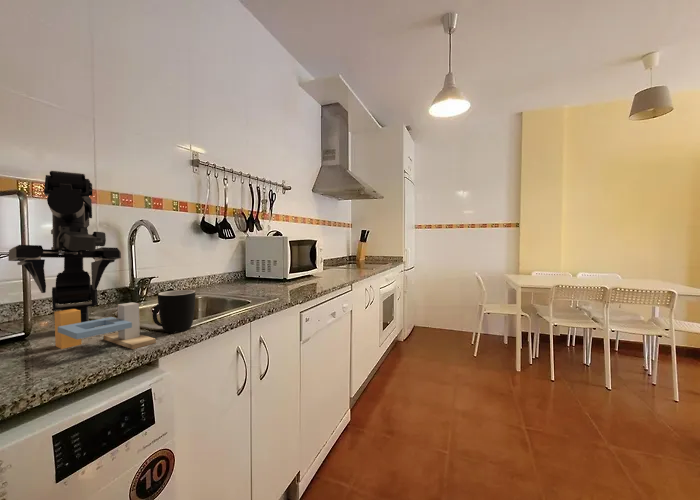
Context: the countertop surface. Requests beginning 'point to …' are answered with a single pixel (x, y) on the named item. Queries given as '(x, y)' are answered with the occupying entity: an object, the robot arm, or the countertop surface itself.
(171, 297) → the mug
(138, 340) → the board
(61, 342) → the orange square post
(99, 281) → the robot arm
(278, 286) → the countertop surface
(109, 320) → the bracket
